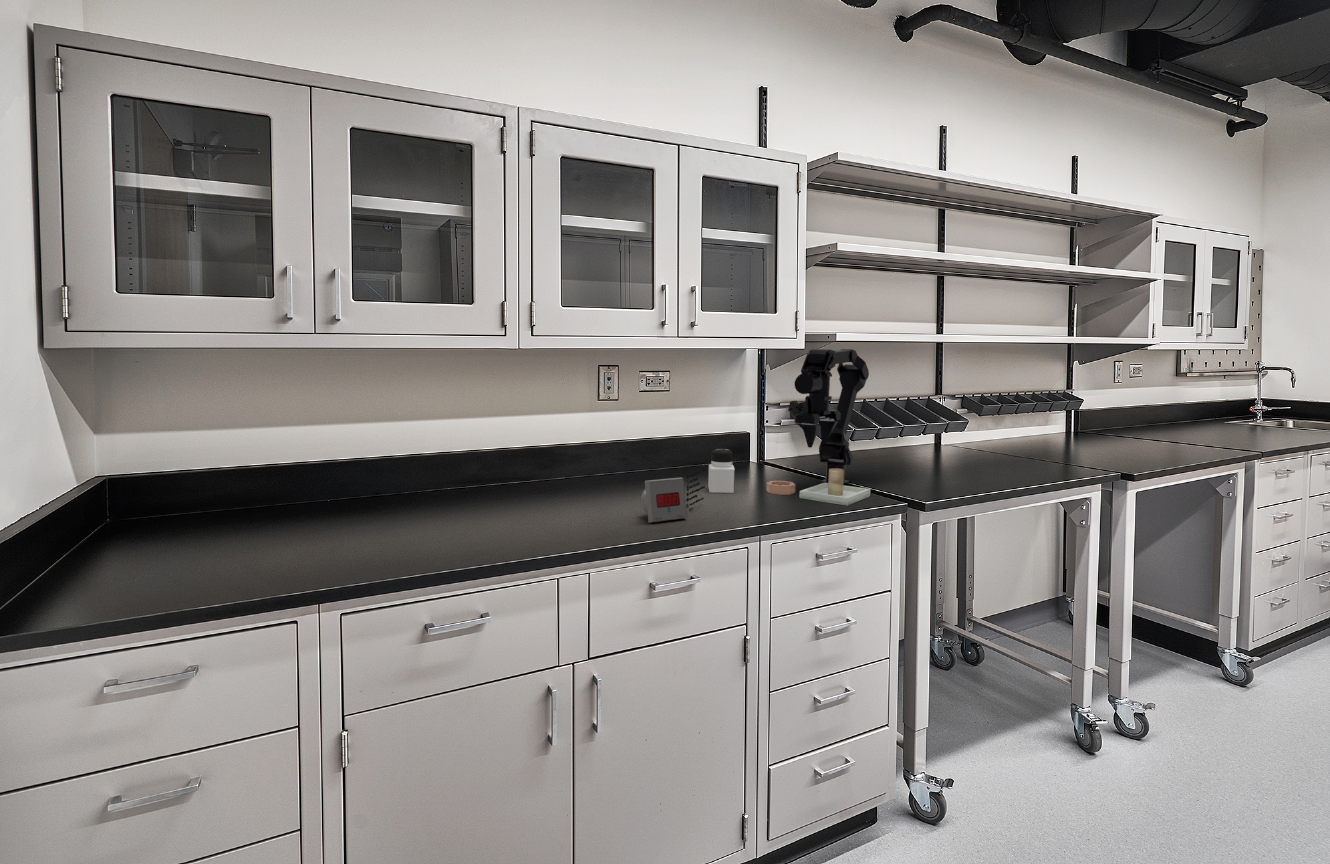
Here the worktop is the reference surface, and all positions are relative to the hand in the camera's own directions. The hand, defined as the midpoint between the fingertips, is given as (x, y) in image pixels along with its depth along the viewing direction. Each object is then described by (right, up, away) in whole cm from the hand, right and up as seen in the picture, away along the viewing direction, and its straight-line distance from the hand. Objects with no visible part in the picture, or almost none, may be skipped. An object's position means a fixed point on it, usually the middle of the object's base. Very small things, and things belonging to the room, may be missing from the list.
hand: (816, 445), depth 204 cm
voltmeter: (-41, -17, -31) cm, 54 cm away
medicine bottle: (-28, -13, -2) cm, 31 cm away
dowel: (+3, -13, -9) cm, 16 cm away
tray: (+3, -14, -9) cm, 17 cm away
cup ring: (-11, -13, -3) cm, 17 cm away
